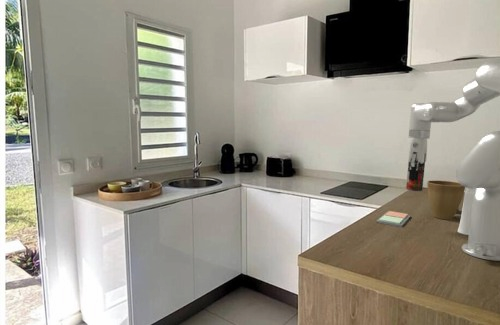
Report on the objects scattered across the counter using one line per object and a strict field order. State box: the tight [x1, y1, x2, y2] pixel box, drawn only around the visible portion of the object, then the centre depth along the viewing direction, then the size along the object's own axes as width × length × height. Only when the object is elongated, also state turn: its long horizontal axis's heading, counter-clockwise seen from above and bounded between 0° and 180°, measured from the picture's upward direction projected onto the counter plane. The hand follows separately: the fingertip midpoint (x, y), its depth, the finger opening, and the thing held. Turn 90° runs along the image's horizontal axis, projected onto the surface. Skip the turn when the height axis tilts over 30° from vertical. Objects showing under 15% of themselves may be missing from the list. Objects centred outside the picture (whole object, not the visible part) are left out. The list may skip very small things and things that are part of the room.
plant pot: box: [426, 180, 466, 221], centre depth 147 cm, size 15×15×16 cm
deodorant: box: [405, 154, 426, 192], centre depth 132 cm, size 6×6×15 cm
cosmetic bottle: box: [457, 188, 475, 236], centre depth 126 cm, size 6×6×22 cm
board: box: [375, 210, 411, 228], centre depth 144 cm, size 18×10×1 cm, turn 143°
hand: (415, 178), depth 133 cm, fingers closed on deodorant, 5 cm apart
